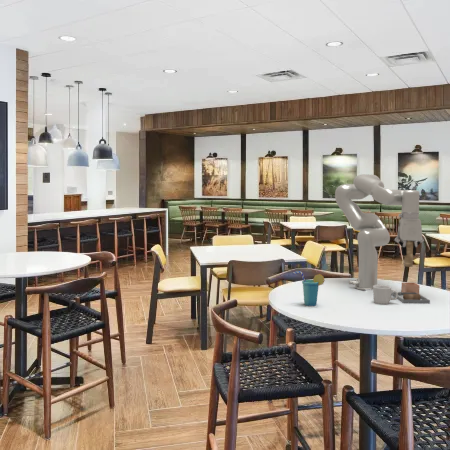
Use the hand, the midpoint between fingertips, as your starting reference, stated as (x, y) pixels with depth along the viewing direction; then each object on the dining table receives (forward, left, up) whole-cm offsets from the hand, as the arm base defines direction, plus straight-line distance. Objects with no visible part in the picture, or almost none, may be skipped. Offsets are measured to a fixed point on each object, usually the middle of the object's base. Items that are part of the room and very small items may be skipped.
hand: (408, 254), depth 219 cm
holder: (+5, +9, -21) cm, 24 cm away
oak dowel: (0, 0, -5) cm, 5 cm away
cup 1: (-49, -13, -21) cm, 55 cm away
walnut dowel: (0, -7, -19) cm, 21 cm away
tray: (0, -3, -21) cm, 21 cm away
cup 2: (-14, -11, -21) cm, 28 cm away
